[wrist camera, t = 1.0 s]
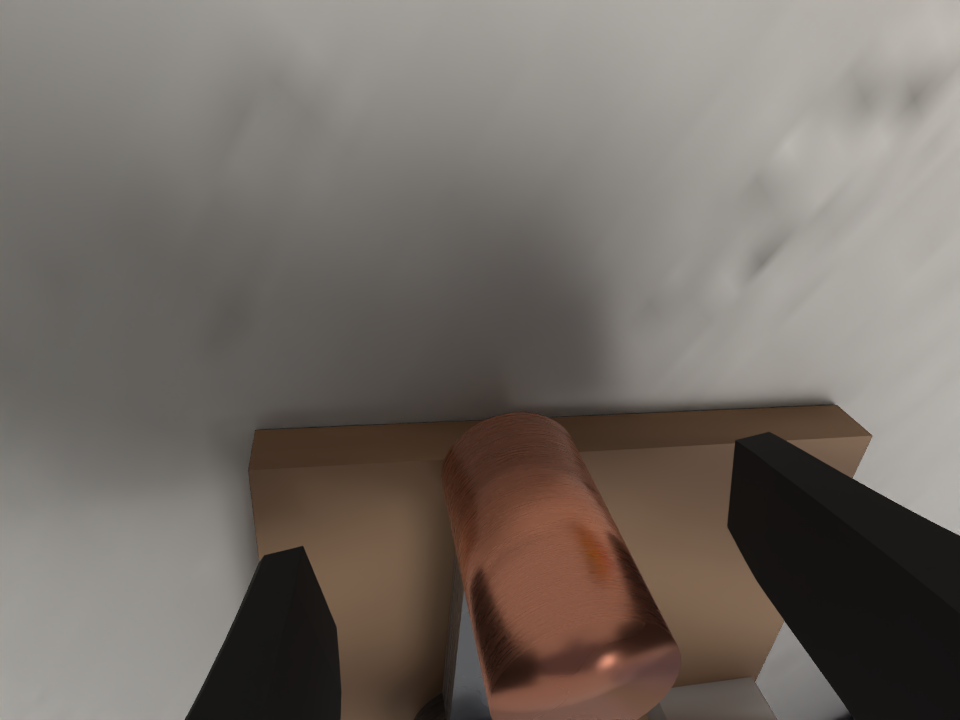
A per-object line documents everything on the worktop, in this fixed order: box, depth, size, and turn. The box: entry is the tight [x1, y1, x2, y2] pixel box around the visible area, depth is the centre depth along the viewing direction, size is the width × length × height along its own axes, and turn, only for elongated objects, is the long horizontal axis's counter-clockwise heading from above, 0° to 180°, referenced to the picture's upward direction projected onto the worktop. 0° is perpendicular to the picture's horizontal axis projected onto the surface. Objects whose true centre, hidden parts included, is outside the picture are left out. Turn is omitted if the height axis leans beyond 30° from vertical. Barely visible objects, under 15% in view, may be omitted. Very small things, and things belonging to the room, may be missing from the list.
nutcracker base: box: [248, 405, 872, 720], centre depth 16 cm, size 15×13×3 cm
